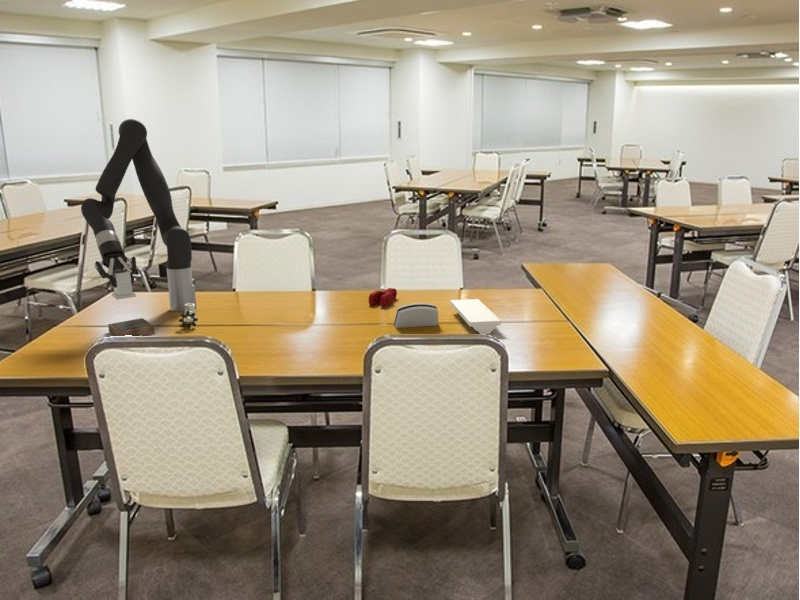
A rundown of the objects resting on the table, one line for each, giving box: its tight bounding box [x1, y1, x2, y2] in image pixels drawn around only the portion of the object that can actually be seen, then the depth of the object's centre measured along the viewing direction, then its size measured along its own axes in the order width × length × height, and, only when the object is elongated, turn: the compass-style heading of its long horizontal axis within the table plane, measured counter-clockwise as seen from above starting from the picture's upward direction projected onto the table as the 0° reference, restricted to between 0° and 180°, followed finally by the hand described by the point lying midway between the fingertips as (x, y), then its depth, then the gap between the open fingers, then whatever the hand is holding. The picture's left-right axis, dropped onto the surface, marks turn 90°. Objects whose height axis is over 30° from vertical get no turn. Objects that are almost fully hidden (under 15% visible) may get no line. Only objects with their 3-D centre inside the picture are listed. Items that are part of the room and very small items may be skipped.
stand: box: [107, 317, 155, 337], centre depth 228 cm, size 12×12×3 cm
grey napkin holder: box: [393, 302, 439, 329], centre depth 237 cm, size 17×5×10 cm, turn 102°
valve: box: [178, 303, 199, 329], centre depth 239 cm, size 7×7×12 cm
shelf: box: [449, 298, 502, 336], centre depth 242 cm, size 12×30×5 cm, turn 9°
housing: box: [111, 270, 137, 301], centre depth 226 cm, size 6×6×9 cm
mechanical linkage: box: [368, 287, 398, 308], centre depth 269 cm, size 16×7×5 cm, turn 153°
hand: (123, 284), depth 224 cm, fingers closed on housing, 5 cm apart
